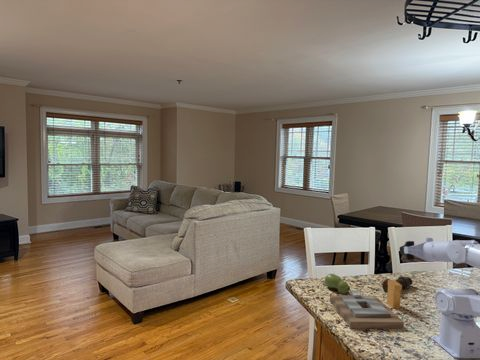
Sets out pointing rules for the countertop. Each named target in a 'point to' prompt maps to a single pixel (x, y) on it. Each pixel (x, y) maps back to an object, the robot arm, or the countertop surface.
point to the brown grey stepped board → (365, 311)
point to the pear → (336, 283)
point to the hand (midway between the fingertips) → (411, 251)
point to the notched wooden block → (394, 293)
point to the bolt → (401, 280)
